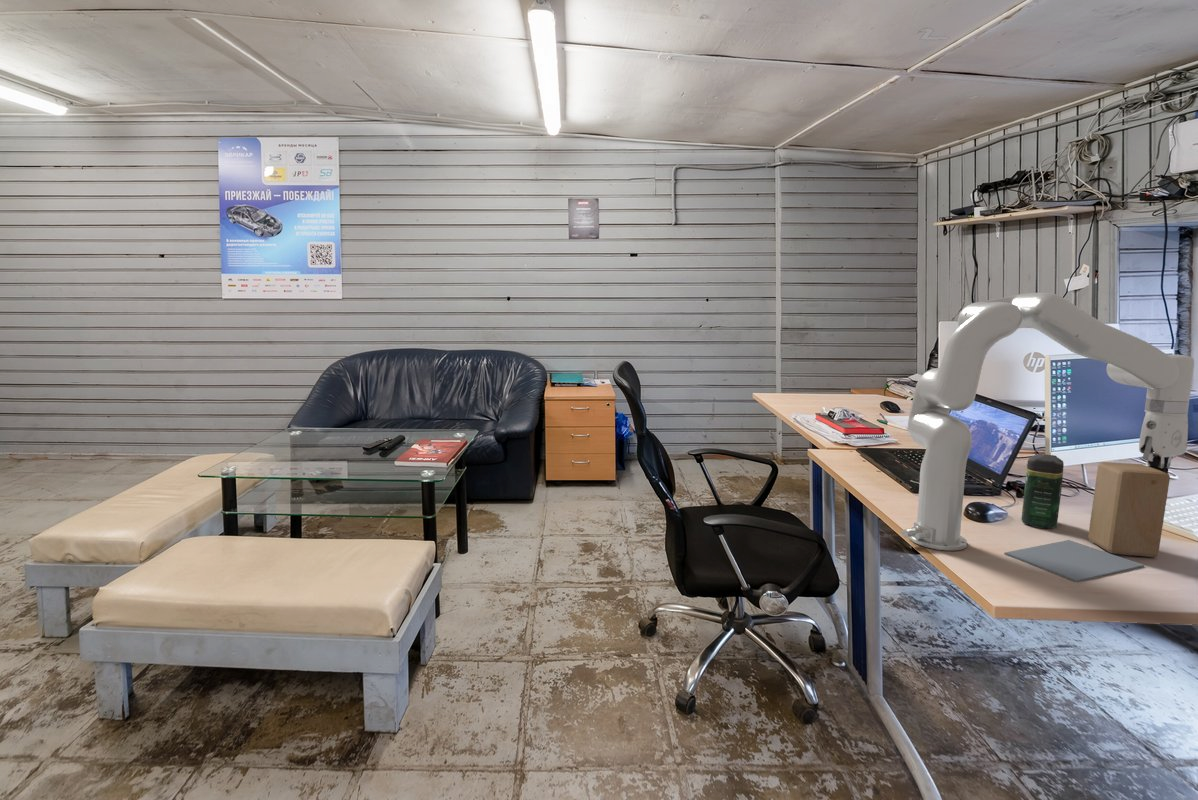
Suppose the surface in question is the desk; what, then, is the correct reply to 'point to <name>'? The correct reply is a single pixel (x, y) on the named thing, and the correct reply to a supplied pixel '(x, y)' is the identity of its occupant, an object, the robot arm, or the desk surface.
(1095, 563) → the mat
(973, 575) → the desk surface
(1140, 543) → the wooden block
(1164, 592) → the desk surface
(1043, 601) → the desk surface
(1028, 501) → the coffee jar
